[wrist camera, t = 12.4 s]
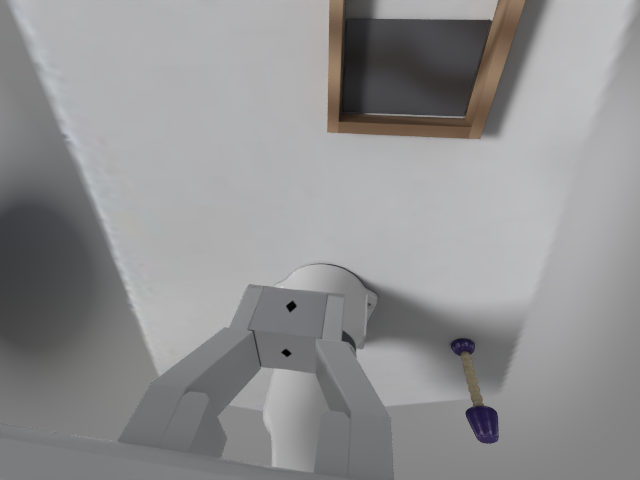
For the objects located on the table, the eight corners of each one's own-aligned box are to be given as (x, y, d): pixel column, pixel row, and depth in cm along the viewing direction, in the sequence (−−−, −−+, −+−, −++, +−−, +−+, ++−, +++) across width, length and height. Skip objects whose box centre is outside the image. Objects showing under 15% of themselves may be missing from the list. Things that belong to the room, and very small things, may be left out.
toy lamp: (444, 343, 60) (465, 439, 47) (463, 333, 57) (491, 431, 44) (460, 353, 61) (485, 449, 48) (480, 344, 59) (513, 442, 46)
